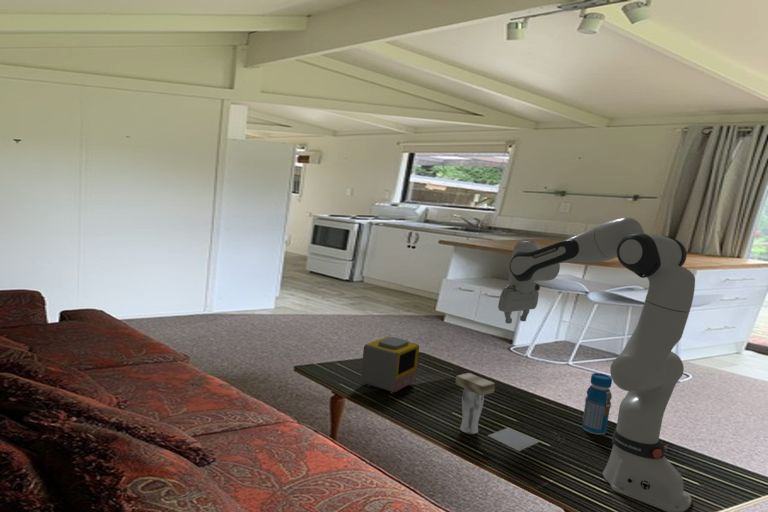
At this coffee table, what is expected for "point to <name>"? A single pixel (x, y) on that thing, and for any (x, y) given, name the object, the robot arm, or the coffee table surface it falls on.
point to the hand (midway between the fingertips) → (515, 322)
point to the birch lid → (475, 384)
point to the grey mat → (513, 439)
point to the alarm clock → (389, 363)
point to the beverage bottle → (597, 404)
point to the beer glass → (471, 411)
